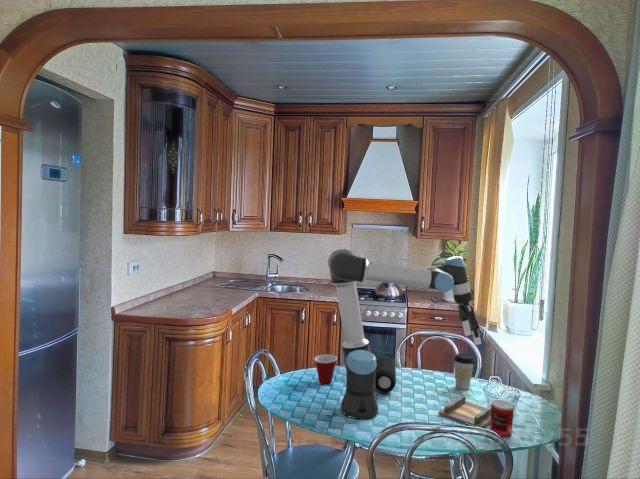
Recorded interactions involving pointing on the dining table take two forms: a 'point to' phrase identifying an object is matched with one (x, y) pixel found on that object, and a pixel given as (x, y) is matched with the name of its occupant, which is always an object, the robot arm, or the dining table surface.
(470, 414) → the dock board
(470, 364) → the coffee cup
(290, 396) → the dining table surface
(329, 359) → the plastic cup
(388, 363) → the portable speaker
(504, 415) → the canned food
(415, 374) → the dining table surface
